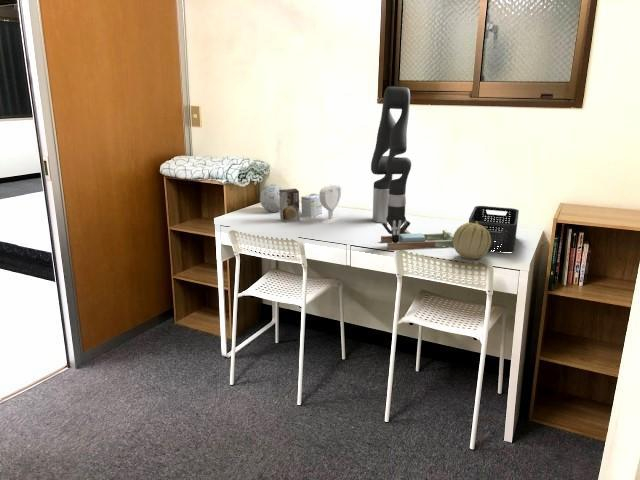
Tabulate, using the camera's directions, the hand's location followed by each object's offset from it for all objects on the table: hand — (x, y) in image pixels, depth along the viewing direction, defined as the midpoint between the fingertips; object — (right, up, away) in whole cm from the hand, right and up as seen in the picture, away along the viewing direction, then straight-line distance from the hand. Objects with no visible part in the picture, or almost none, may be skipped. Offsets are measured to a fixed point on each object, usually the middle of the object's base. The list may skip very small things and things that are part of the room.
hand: (394, 242), depth 222 cm
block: (+7, -1, 0) cm, 8 cm away
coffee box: (-49, +11, +41) cm, 65 cm away
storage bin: (+43, 0, +3) cm, 44 cm away
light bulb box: (-37, +15, +53) cm, 66 cm away
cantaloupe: (+28, -6, -16) cm, 33 cm away
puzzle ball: (-59, +17, +60) cm, 86 cm away
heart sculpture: (-27, +11, +41) cm, 51 cm away
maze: (+10, +1, +6) cm, 11 cm away
